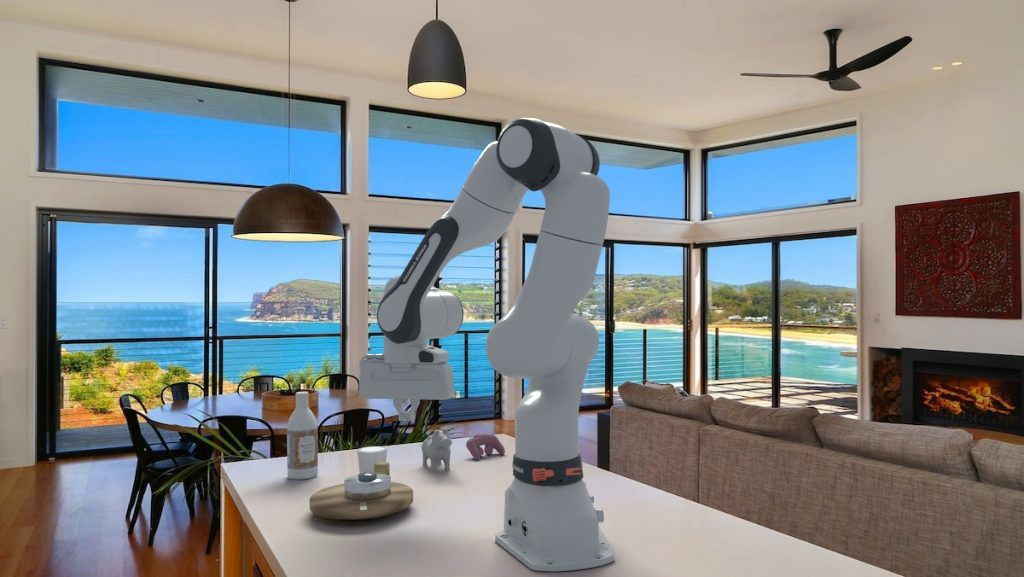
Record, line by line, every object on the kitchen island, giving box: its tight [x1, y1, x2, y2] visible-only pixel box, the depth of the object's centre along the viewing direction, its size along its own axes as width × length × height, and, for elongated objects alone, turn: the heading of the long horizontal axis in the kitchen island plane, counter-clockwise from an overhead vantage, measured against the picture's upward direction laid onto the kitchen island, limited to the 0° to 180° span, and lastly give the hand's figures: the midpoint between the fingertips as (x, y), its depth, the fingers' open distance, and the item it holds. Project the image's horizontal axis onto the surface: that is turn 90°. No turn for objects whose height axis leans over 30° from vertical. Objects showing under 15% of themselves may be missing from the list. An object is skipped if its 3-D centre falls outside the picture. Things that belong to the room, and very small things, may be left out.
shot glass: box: [356, 445, 388, 474], centre depth 156 cm, size 7×7×7 cm
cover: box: [343, 472, 392, 501], centre depth 132 cm, size 9×9×4 cm
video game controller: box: [465, 432, 506, 461], centre depth 177 cm, size 10×5×7 cm, turn 130°
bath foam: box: [286, 391, 319, 481], centre depth 159 cm, size 7×7×20 cm
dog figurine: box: [421, 427, 453, 474], centre depth 163 cm, size 5×13×11 cm, turn 27°
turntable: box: [309, 461, 414, 520], centre depth 132 cm, size 20×20×6 cm
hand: (406, 420), depth 138 cm, fingers closed
